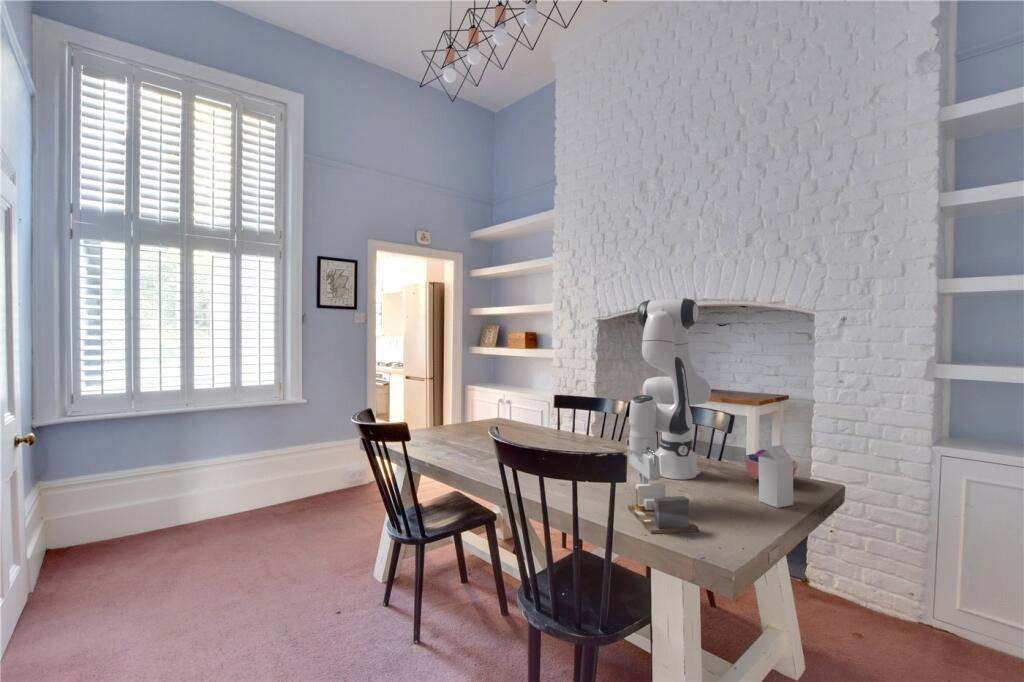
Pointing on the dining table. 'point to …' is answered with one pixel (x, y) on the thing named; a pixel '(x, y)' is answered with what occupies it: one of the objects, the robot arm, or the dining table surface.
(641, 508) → the peak needle
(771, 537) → the dining table surface
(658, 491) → the white bent piece
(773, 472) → the milk carton
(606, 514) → the dining table surface
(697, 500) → the dining table surface
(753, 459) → the cell model
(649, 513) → the gauge base
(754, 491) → the dining table surface
